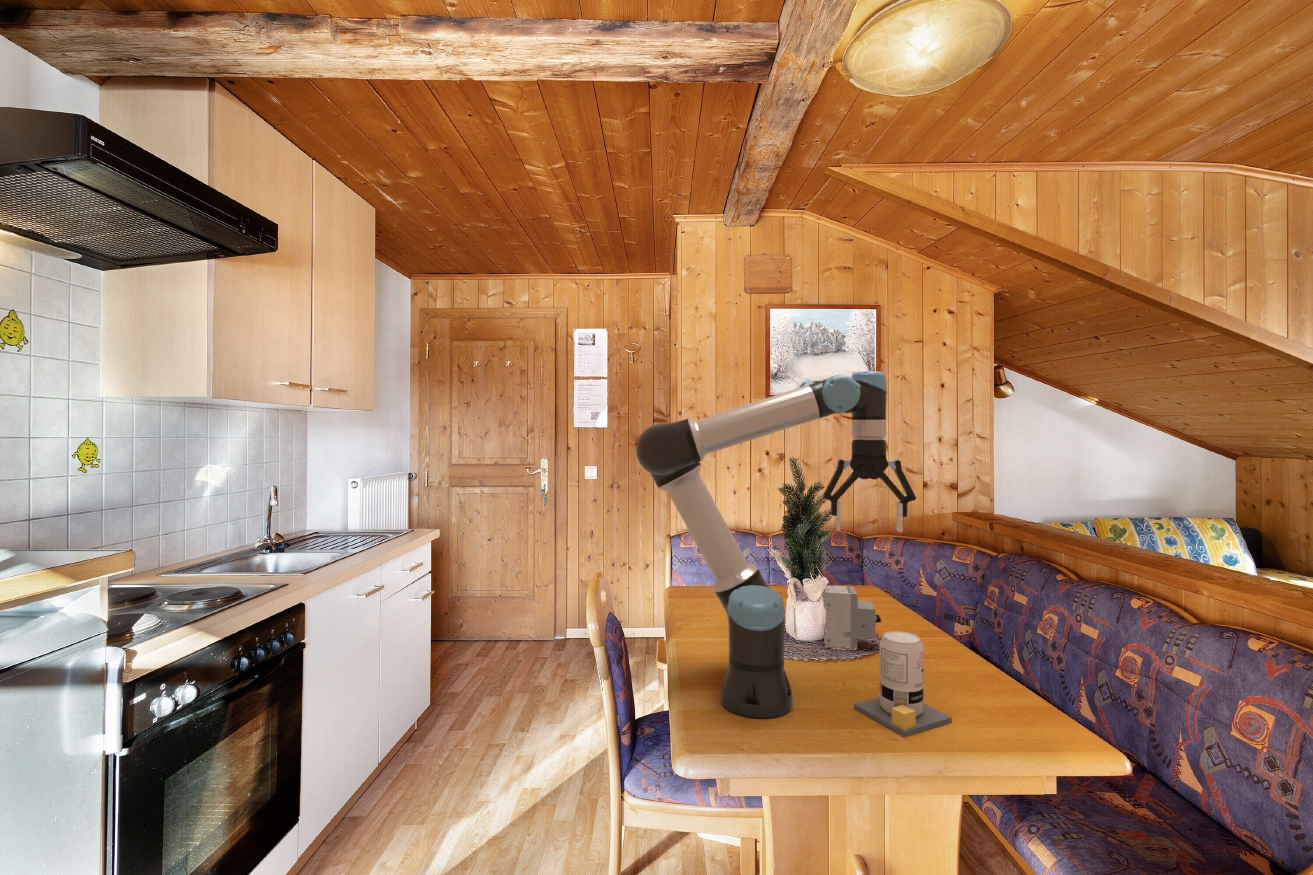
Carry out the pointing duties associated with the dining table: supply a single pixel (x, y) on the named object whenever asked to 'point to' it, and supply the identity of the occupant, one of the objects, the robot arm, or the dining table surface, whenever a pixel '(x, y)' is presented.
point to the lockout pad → (886, 718)
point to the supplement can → (901, 671)
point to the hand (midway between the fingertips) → (868, 530)
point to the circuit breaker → (847, 617)
